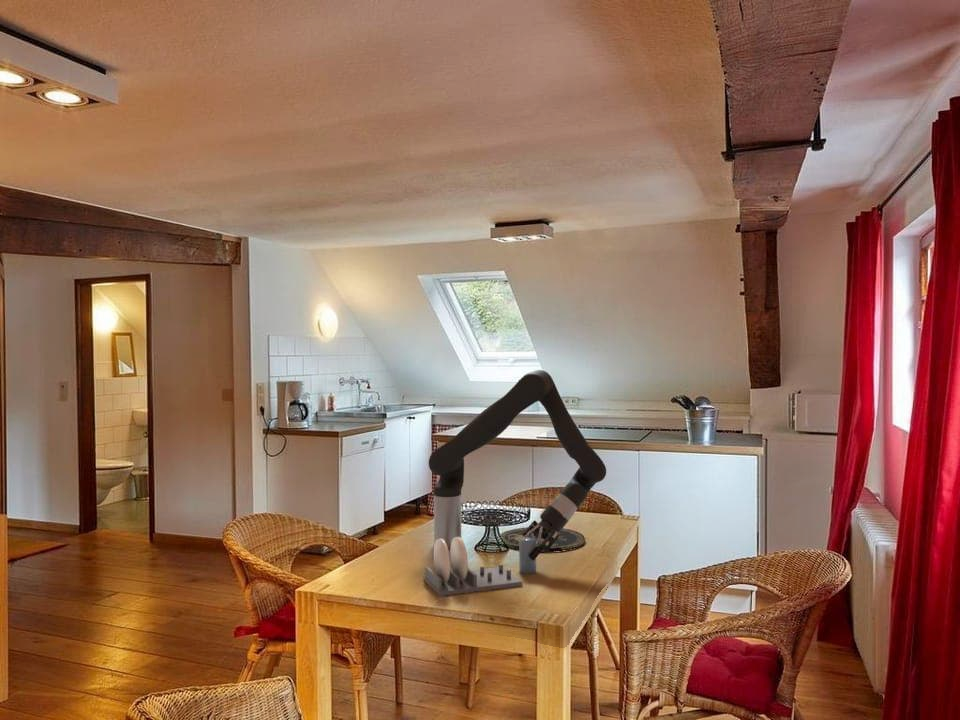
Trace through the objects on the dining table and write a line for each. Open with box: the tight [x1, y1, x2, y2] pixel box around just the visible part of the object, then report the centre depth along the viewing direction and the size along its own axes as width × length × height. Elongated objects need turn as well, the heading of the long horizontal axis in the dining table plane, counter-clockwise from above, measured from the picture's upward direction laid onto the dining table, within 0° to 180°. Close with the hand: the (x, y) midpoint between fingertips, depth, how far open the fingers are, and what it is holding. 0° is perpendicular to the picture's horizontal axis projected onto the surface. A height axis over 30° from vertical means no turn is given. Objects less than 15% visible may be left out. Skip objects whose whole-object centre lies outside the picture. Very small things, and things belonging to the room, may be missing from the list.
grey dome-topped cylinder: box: [518, 537, 537, 575], centre depth 212 cm, size 5×5×10 cm
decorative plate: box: [499, 526, 586, 553], centre depth 247 cm, size 30×2×30 cm
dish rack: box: [423, 537, 523, 597], centre depth 202 cm, size 15×24×13 cm, turn 111°
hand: (524, 554), depth 212 cm, fingers open, 8 cm apart
